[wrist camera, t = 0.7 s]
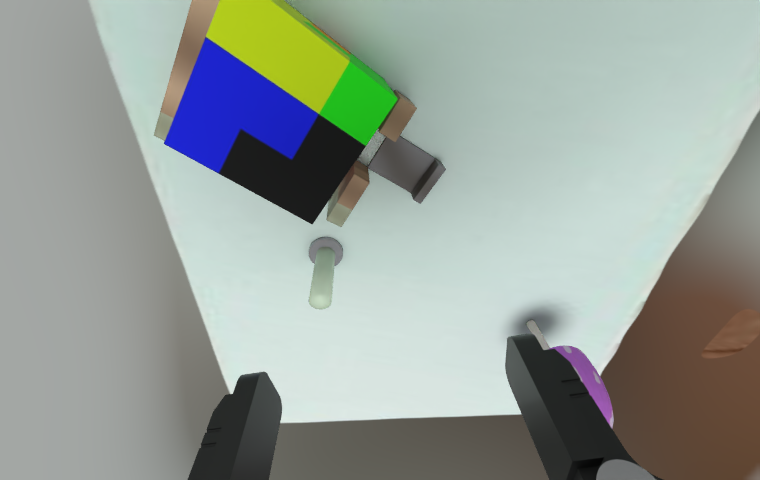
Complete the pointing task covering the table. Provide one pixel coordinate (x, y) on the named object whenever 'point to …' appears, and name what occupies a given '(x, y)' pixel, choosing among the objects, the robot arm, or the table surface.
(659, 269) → the table surface
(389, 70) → the table surface
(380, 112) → the puzzle toy
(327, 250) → the goal post
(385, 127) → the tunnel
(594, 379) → the toy
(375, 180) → the table surface
